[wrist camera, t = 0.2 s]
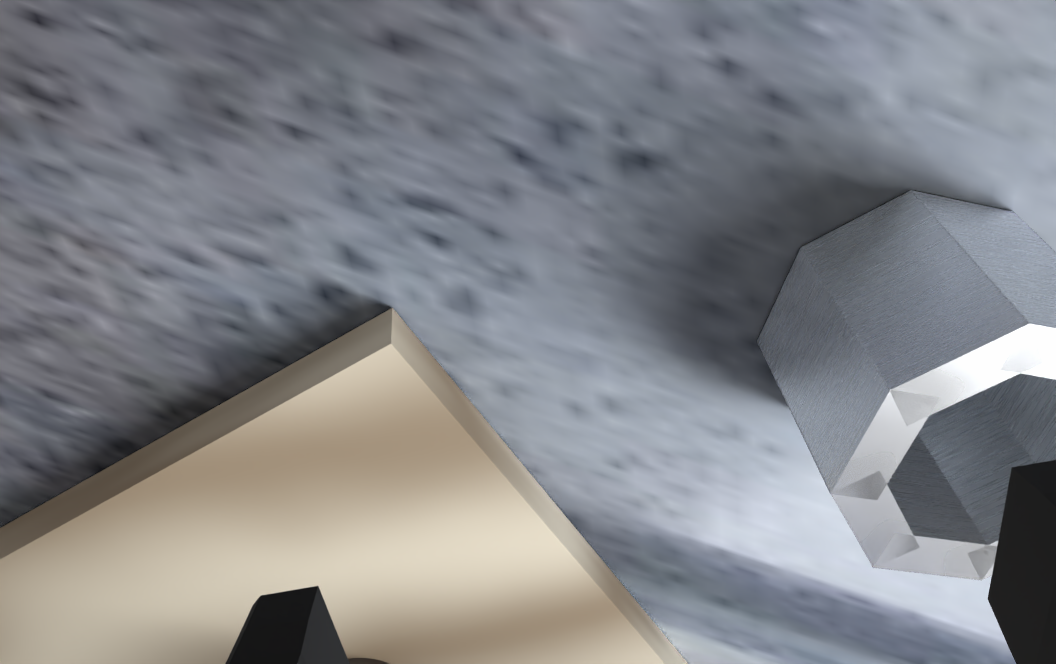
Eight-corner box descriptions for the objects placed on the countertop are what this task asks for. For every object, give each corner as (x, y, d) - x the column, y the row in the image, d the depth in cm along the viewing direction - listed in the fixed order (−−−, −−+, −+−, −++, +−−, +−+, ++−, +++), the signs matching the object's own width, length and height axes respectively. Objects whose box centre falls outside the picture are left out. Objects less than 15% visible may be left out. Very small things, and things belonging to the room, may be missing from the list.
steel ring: (1058, 346, 22) (1190, 492, 18) (822, 456, 23) (899, 614, 19) (993, 147, 19) (1134, 273, 15) (725, 286, 20) (795, 435, 16)
